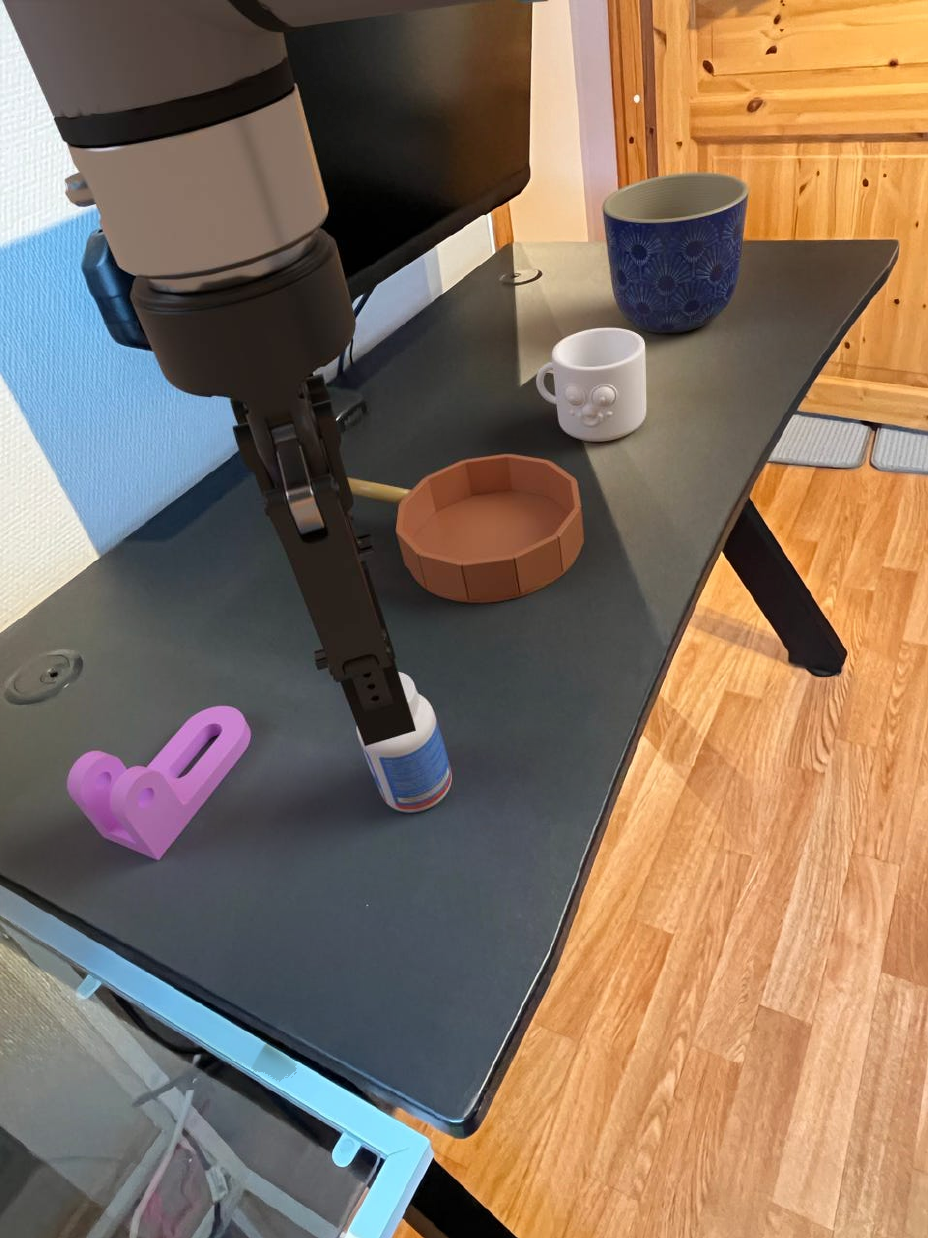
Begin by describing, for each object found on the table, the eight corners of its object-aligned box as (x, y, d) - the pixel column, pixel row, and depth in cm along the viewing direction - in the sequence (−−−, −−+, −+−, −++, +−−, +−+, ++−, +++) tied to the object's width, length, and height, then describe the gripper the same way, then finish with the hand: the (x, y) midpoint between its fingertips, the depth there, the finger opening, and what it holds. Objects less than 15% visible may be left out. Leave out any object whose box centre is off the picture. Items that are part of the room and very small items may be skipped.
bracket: (158, 860, 60) (115, 803, 55) (103, 837, 62) (57, 780, 58) (264, 726, 68) (234, 666, 63) (211, 710, 70) (179, 651, 66)
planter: (753, 292, 112) (761, 168, 102) (726, 351, 102) (732, 218, 92) (629, 291, 119) (625, 174, 109) (591, 345, 109) (583, 222, 99)
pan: (611, 510, 82) (609, 469, 79) (531, 622, 72) (525, 581, 69) (378, 465, 95) (369, 430, 92) (284, 555, 85) (270, 518, 82)
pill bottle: (467, 770, 61) (443, 678, 55) (425, 826, 58) (394, 736, 52) (408, 744, 64) (378, 654, 58) (365, 796, 61) (328, 707, 55)
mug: (526, 447, 93) (516, 371, 87) (552, 400, 100) (544, 327, 94) (635, 452, 88) (632, 372, 82) (654, 403, 95) (653, 326, 89)
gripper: (135, 210, 36) (296, 612, 51) (103, 383, 23) (333, 856, 38) (305, 168, 37) (414, 577, 52) (372, 311, 23) (491, 806, 39)
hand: (379, 694), depth 45 cm, fingers open, 5 cm apart
